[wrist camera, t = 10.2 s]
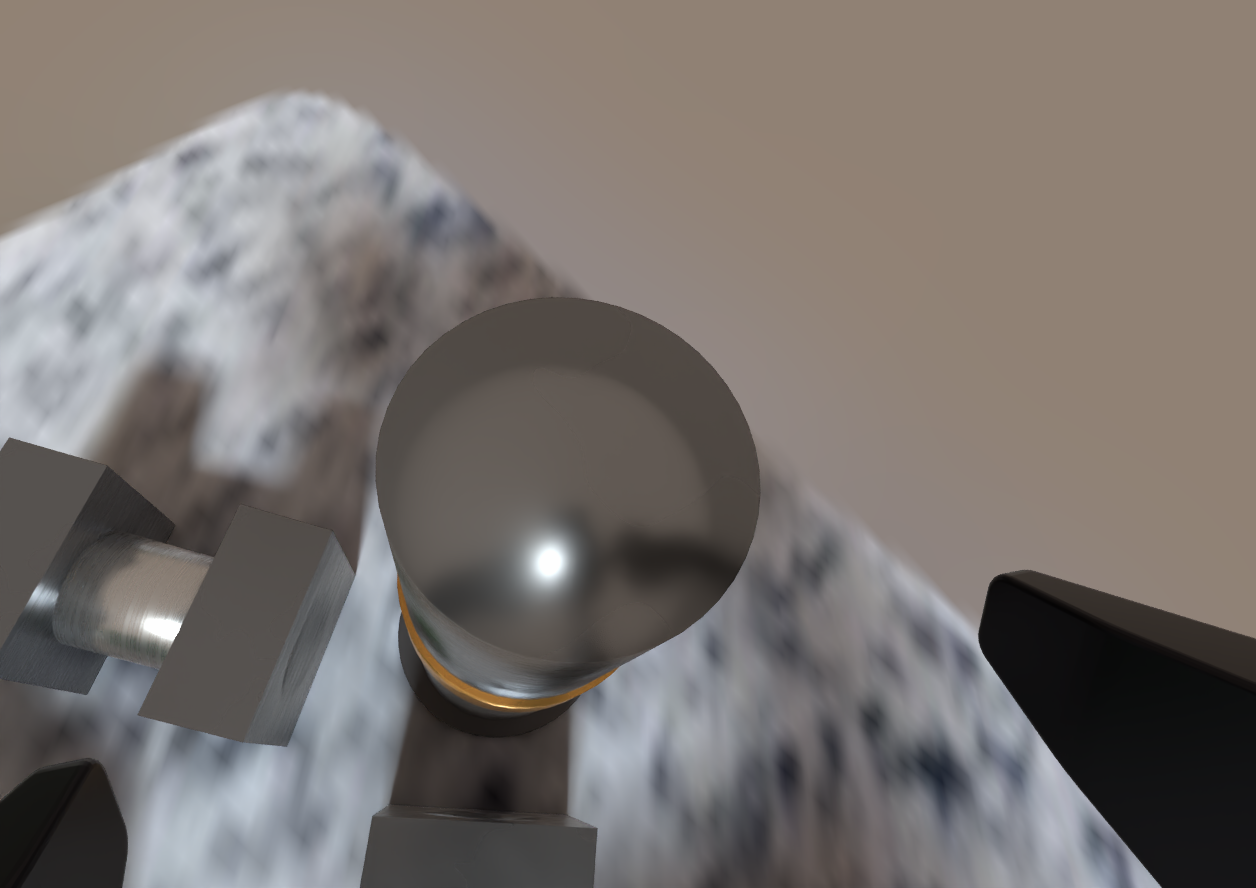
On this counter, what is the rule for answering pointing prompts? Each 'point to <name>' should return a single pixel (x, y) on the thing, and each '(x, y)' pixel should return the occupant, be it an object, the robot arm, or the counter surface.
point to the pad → (457, 717)
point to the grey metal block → (477, 849)
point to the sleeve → (559, 499)
